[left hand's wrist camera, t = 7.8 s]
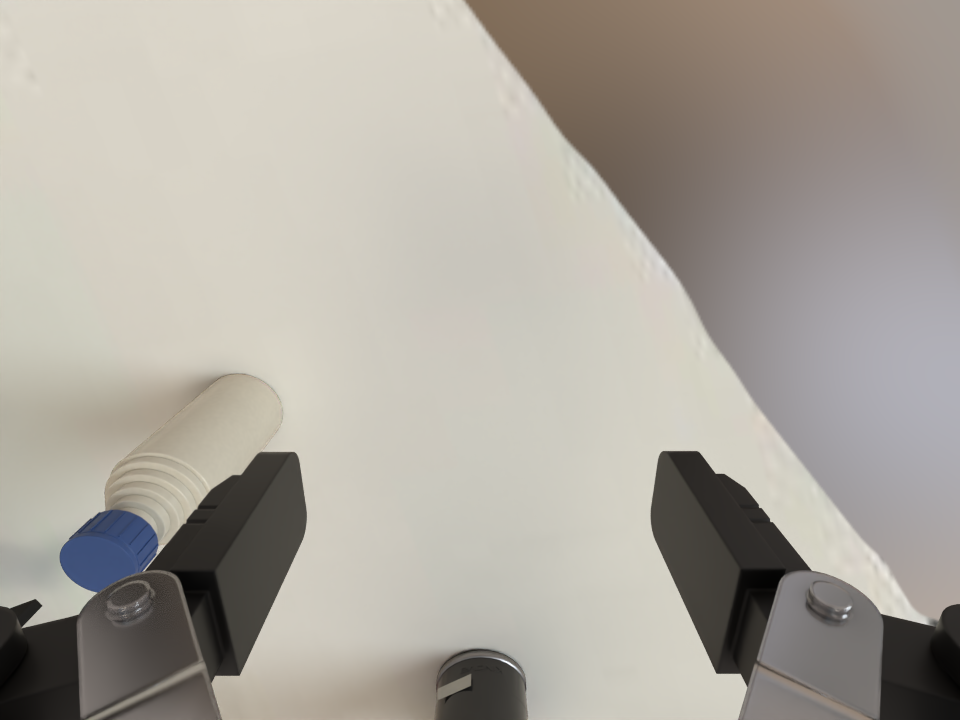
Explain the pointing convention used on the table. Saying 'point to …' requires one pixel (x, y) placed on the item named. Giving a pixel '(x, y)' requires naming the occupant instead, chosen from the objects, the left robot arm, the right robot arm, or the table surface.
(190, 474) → the bottle
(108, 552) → the cap
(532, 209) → the table surface
